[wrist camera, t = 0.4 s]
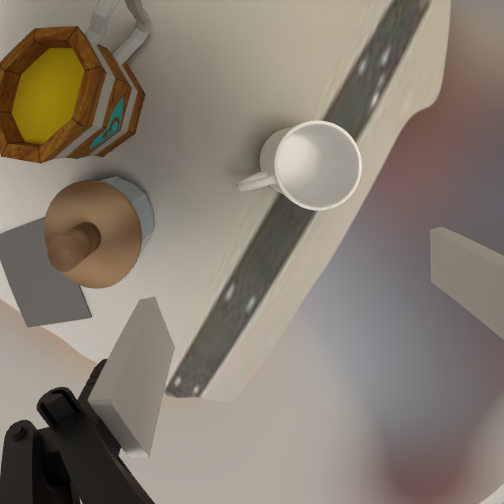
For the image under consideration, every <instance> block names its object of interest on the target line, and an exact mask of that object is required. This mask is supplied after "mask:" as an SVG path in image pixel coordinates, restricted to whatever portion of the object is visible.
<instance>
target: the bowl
mask: <svg viewBox="0 0 504 504" xmlns="http://www.w3.org/2000/svg"><path fill="white" fill-rule="evenodd" d="M100 181H102V182H105V183H108V184H110V185H112V186H114V187H116V188H117V189H119V190H120V191H121V192H122V193H123V194H124V195H125V196H126V197H127V198H128V199H129V200H130V202H131V203H132V205H133V206H134V208H135V210H136V212H137V214H138V217H139V220H140V224H141V229H142V245H141V251H140V254H141V252H142V250H143V248H144V246H145V245H146V243H147V242H148V240H149V238H150V236H151V234H152V232H153V230H154V229H155V227H154V213H153V208H152V205H151V203H150V200H149V199H148V197H147V195H146V194H145V193H144V191H143V190H142V189H141V188H140V187H138V186H137V185H136V184H134V183H132V182H130V181H127V180H124V179H121V178H120V177H118V176H115V177H111V178H107V179H103V180H100ZM140 254H139V256H140Z"/></svg>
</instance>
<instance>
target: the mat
mask: <svg viewBox="0 0 504 504" xmlns="http://www.w3.org/2000/svg"><path fill="white" fill-rule="evenodd" d="M44 223H45V218H42V219H40V220H37V221H34V222H31V223H29V224H26V225H23V226H21V227H18V228H15V229H13V230H10V231H7V232H5V233H2V234H0V260H1V263H2V266H3V269H4V271H5V274H6V277H7V280H8V282H9V285H10V287H11V290H12V292H13V295H14V297H15V300H16V302H17V304H18V307H19V309H20V311H21V314H22V316H23V318H24V320H25V322H26V325H27V327H33V326H40V325H47V324H54V323H60V322H67V321H73V320H80V319H86V318H91V317H92V315H91V312H90V310H89V308H88V305H87V303H86V300H85V298H84V295H83V292H82V290H81V287H80V285H79V284H76V283H74V282H73V281H71V280H70V279H68V278H67V277H66V276H65V275H63V274H62V273H61V272H60V271H58V270H57V269H55V268H54V267H53V266H52V264H51V263H50V261H49V258H48V253H47V246H46V243H45V237H44Z"/></svg>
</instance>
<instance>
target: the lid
mask: <svg viewBox="0 0 504 504" xmlns="http://www.w3.org/2000/svg"><path fill="white" fill-rule="evenodd" d="M44 237H45V243H46V246H47V253H48V258H49V261H50V263H51V264H52V266H53V267H54V268H55V269H57V270H58V271H60V272H61V273H62V274H63V275H65V276H66V277H67V278H68V279H70V280H71V281H73V282H74V283H76V284H79V285H81V286H84V287H88V288H106V287H109V286H112V285H114V284H116V283H118V282H119V281H121V280H122V279H123V278H124V277H125V276H126V275H127V274H128V273H129V272H130V270H131V269H132V268H133V266H134V265H135V263H136V261H137V259H138V257H139V254H140V251H141V245H142V229H141V224H140V220H139V217H138V214H137V212H136V210H135V208H134V206H133V205H132V203H131V202H130V200H129V199H128V198H127V197H126V196H125V195H124V194H123V193H122V192H121V191H120V190H119V189H117V188H116V187H114V186H112V185H110V184H108V183H105V182H102V181H98V180H86V181H81V182H77V183H73V184H71V185H69V186H67V187H65V188H64V189H62V190H61V191H60V192H59V193H58V194H57V195H56V196H55V198H54V199H53V200H52V202H51V204H50V206H49V208H48V210H47V213H46V217H45V223H44Z"/></svg>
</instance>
